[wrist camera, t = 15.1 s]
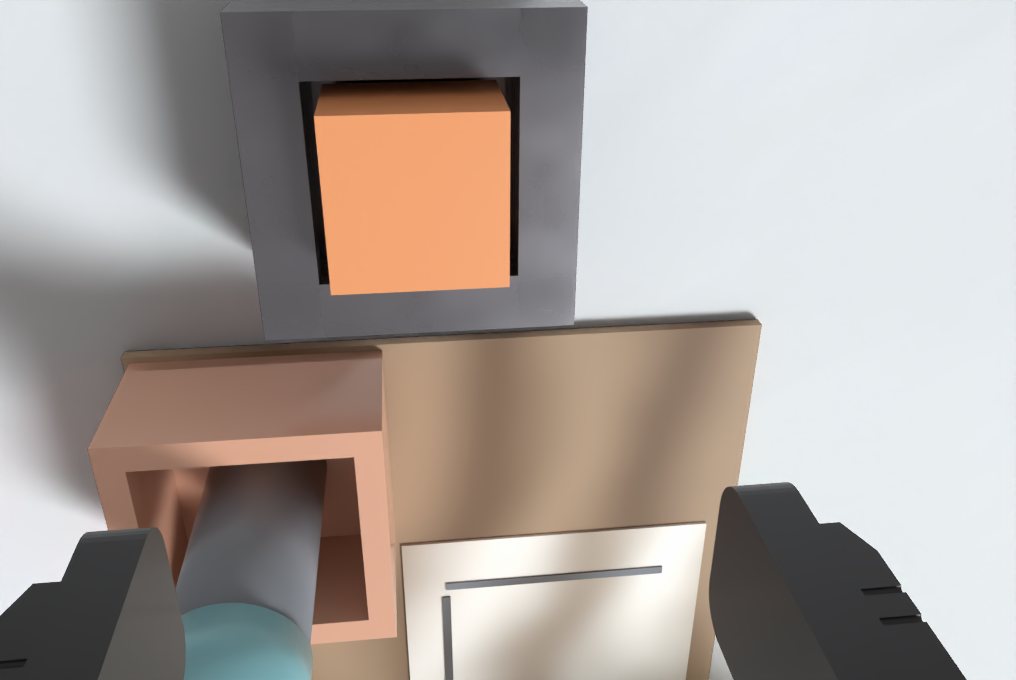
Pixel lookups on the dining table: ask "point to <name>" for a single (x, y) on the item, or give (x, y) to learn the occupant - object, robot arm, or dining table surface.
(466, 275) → the button
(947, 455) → the dining table surface
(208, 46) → the dining table surface
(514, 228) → the button housing
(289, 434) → the pink square holder
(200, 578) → the marker
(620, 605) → the board
